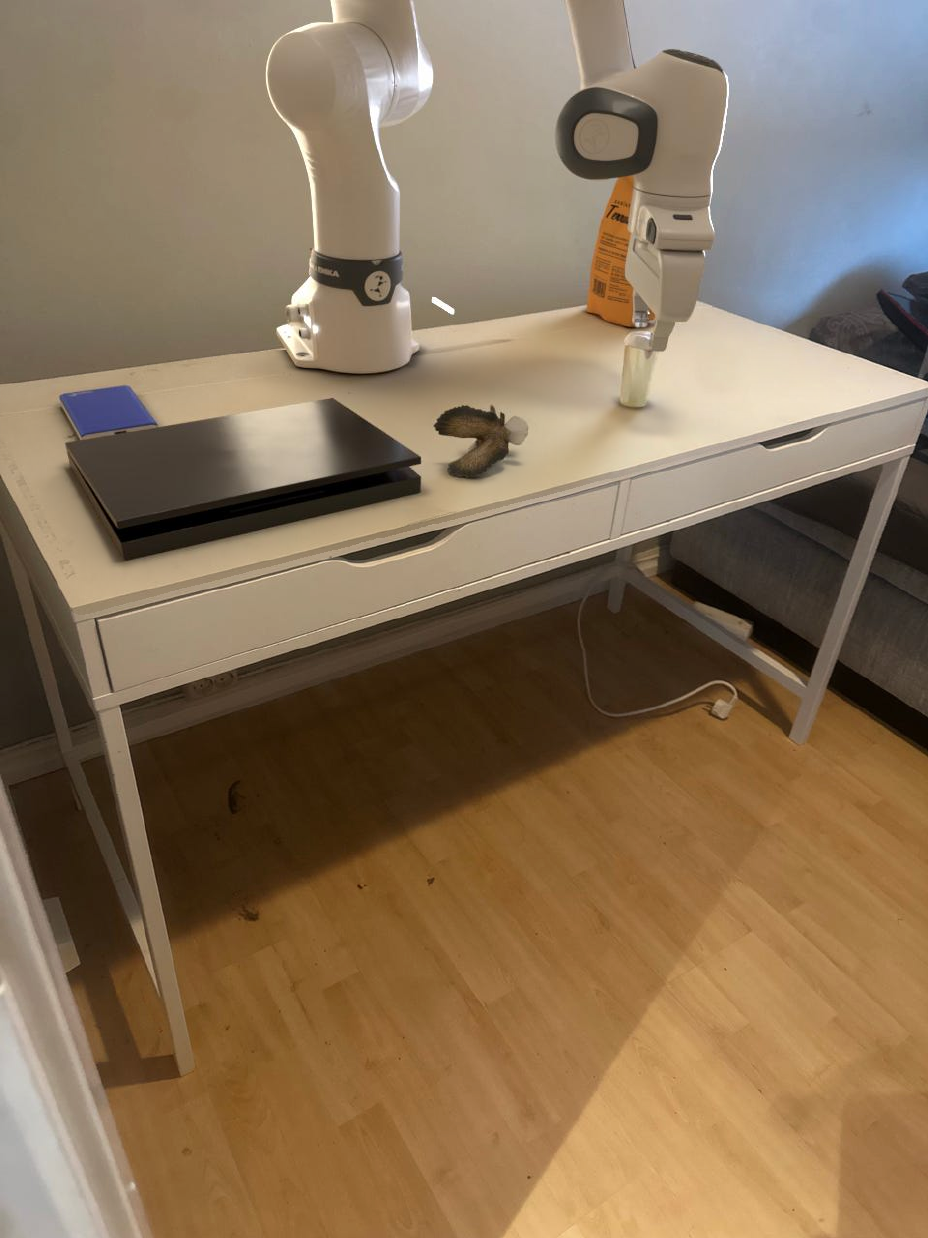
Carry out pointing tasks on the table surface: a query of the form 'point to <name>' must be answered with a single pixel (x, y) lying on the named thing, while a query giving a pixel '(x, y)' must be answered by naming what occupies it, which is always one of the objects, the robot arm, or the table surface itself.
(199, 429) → the laptop screen
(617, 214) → the coffee package
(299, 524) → the table surface
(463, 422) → the eagle figurine
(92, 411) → the hard drive
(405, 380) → the table surface
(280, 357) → the table surface
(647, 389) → the milkshake
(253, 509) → the laptop
